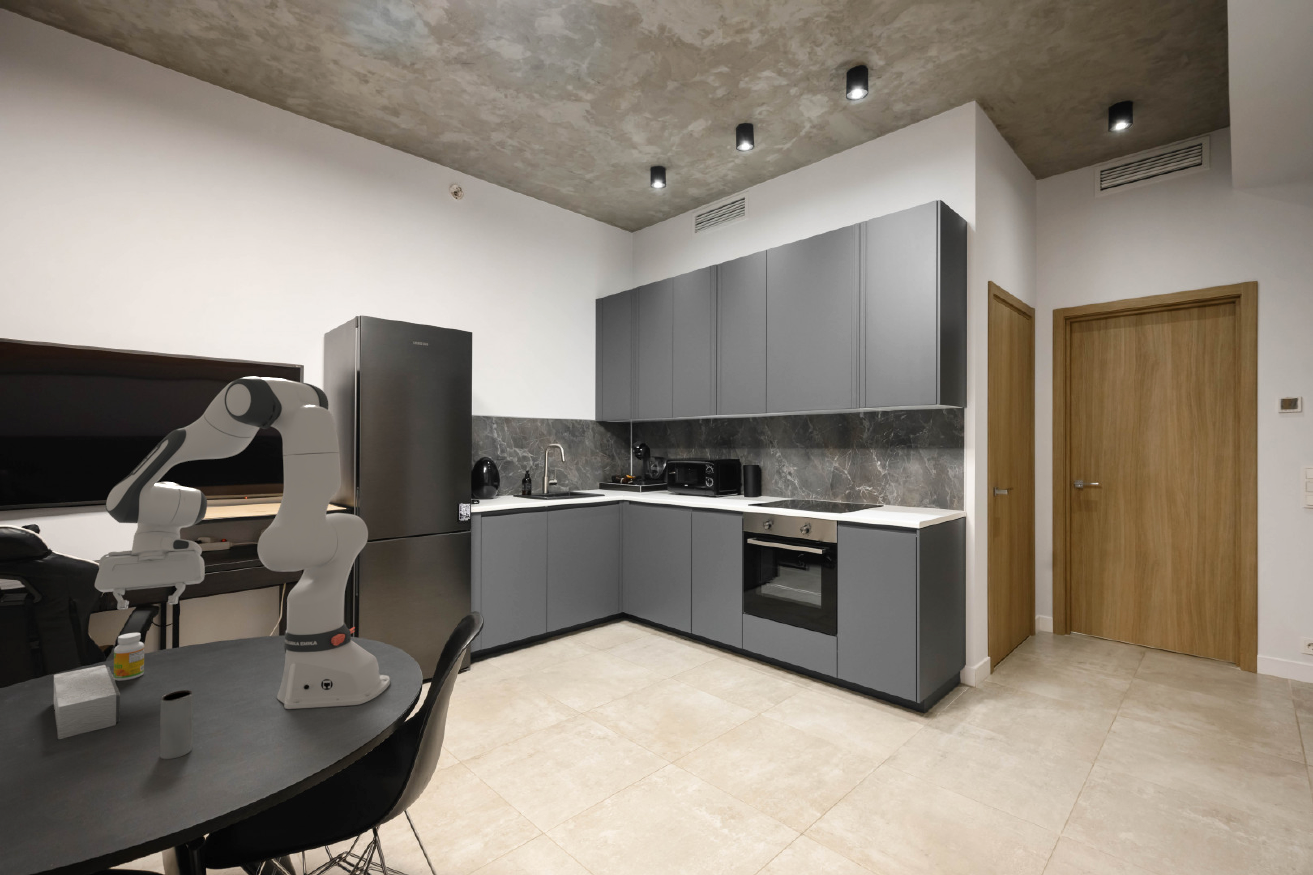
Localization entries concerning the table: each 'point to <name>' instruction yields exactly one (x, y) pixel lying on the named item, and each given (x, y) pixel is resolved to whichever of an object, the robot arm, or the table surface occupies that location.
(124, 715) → the table surface
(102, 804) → the table surface
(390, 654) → the table surface
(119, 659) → the supplement bottle
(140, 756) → the table surface
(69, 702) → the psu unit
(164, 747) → the planter
